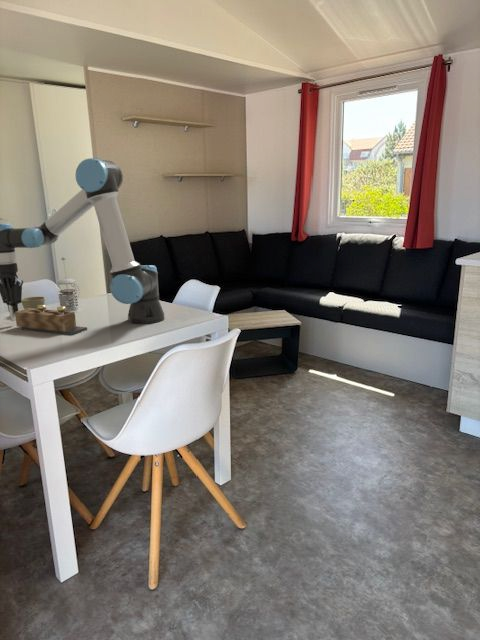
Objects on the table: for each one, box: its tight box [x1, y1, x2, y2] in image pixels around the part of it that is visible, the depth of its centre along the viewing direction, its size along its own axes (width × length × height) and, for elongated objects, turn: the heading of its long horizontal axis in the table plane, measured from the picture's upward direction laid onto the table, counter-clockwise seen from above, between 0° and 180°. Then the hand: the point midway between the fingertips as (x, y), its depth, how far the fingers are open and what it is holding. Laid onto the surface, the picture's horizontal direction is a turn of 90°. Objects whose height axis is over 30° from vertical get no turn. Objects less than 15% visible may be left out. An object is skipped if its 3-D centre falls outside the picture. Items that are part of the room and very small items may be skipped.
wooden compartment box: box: [15, 308, 77, 331], centre depth 185 cm, size 24×7×6 cm, turn 68°
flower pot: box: [21, 296, 46, 309], centre depth 212 cm, size 10×10×7 cm
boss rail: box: [20, 304, 88, 336], centre depth 183 cm, size 26×8×10 cm, turn 68°
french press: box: [56, 256, 82, 314], centre depth 214 cm, size 10×12×25 cm
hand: (14, 320), depth 192 cm, fingers closed
